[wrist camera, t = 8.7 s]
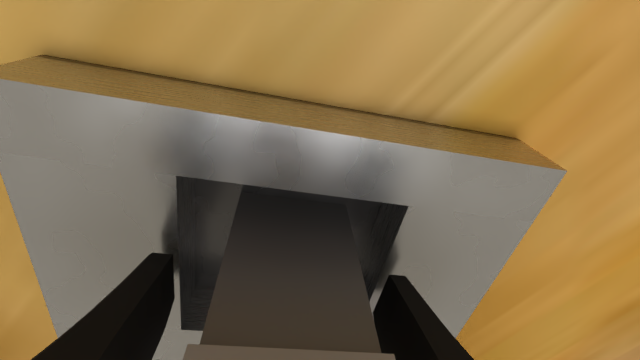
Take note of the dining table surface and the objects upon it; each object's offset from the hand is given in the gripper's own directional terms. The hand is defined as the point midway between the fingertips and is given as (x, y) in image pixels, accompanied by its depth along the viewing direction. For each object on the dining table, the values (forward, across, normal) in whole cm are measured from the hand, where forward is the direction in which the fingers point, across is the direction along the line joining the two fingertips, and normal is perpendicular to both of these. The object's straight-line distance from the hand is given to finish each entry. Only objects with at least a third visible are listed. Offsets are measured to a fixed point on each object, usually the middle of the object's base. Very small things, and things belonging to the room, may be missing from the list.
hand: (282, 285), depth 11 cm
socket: (+3, 0, +2) cm, 3 cm away
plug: (+2, 0, 0) cm, 3 cm away
